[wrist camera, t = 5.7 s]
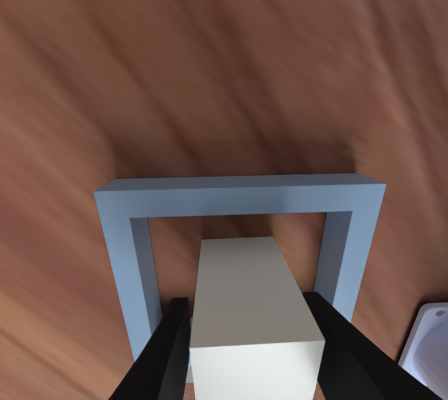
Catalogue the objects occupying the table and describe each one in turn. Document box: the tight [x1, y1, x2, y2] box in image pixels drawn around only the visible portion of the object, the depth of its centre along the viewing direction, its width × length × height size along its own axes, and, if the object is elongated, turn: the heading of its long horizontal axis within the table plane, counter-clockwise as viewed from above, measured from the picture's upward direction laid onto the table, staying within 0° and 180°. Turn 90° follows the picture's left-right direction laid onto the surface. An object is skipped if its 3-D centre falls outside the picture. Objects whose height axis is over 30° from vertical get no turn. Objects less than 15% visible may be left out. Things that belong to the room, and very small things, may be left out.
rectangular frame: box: [94, 173, 386, 383], centre depth 13 cm, size 12×21×2 cm, turn 1°
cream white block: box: [189, 237, 325, 400], centre depth 10 cm, size 4×4×6 cm
